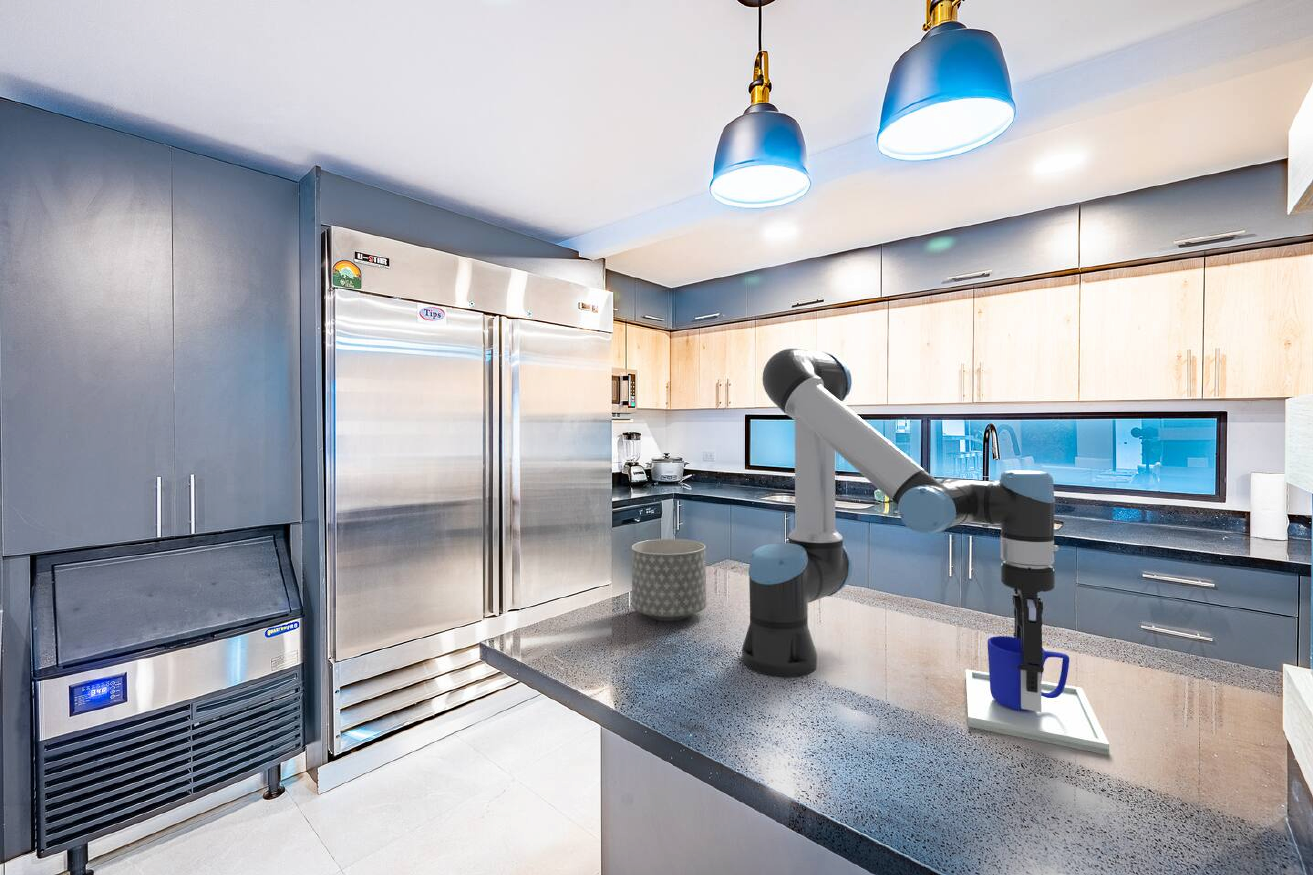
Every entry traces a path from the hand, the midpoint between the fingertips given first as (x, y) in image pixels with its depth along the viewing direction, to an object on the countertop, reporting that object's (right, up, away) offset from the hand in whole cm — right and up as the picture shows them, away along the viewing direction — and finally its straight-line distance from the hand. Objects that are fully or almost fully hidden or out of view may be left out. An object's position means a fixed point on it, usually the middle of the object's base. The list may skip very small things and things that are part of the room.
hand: (1027, 696), depth 96 cm
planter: (-59, -3, +51) cm, 78 cm away
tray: (0, -2, 0) cm, 2 cm away
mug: (0, -2, +1) cm, 2 cm away
